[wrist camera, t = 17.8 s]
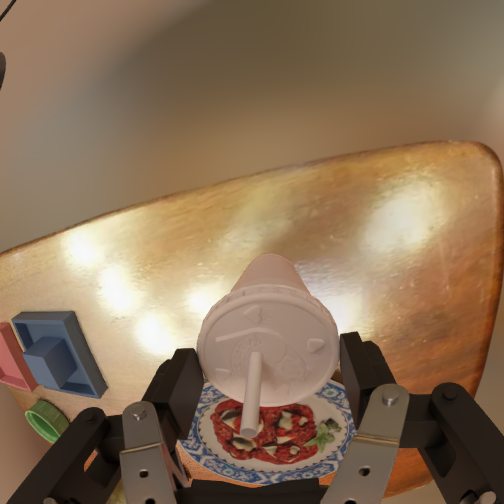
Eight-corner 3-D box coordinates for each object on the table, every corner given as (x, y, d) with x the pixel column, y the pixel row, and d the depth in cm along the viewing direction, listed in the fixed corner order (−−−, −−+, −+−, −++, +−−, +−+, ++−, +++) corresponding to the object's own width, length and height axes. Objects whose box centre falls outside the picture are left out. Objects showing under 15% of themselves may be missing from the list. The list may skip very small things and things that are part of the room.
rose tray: (-20, 321, 35) (-28, 326, 32) (9, 323, 33) (0, 330, 31) (6, 375, 38) (-1, 381, 36) (39, 384, 36) (32, 392, 34)
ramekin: (76, 421, 38) (65, 437, 34) (69, 436, 40) (60, 450, 36) (38, 389, 37) (25, 403, 33) (35, 408, 39) (24, 421, 35)
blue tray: (21, 312, 32) (11, 319, 30) (73, 311, 31) (62, 320, 28) (52, 379, 35) (44, 387, 33) (107, 388, 34) (100, 399, 31)
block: (41, 336, 32) (21, 353, 27) (63, 338, 32) (42, 357, 27) (55, 365, 33) (37, 384, 29) (77, 368, 33) (59, 389, 28)
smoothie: (247, 219, 20) (199, 325, 7) (330, 257, 20) (406, 396, 7) (214, 296, 22) (149, 448, 9) (290, 328, 22) (301, 490, 9)
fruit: (104, 464, 42) (83, 505, 30) (139, 471, 41) (120, 517, 29) (129, 488, 44) (113, 526, 33) (163, 494, 43) (149, 536, 32)
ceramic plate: (177, 459, 37) (173, 472, 35) (178, 338, 30) (170, 353, 27) (331, 478, 37) (332, 492, 34) (400, 369, 29) (408, 385, 26)
